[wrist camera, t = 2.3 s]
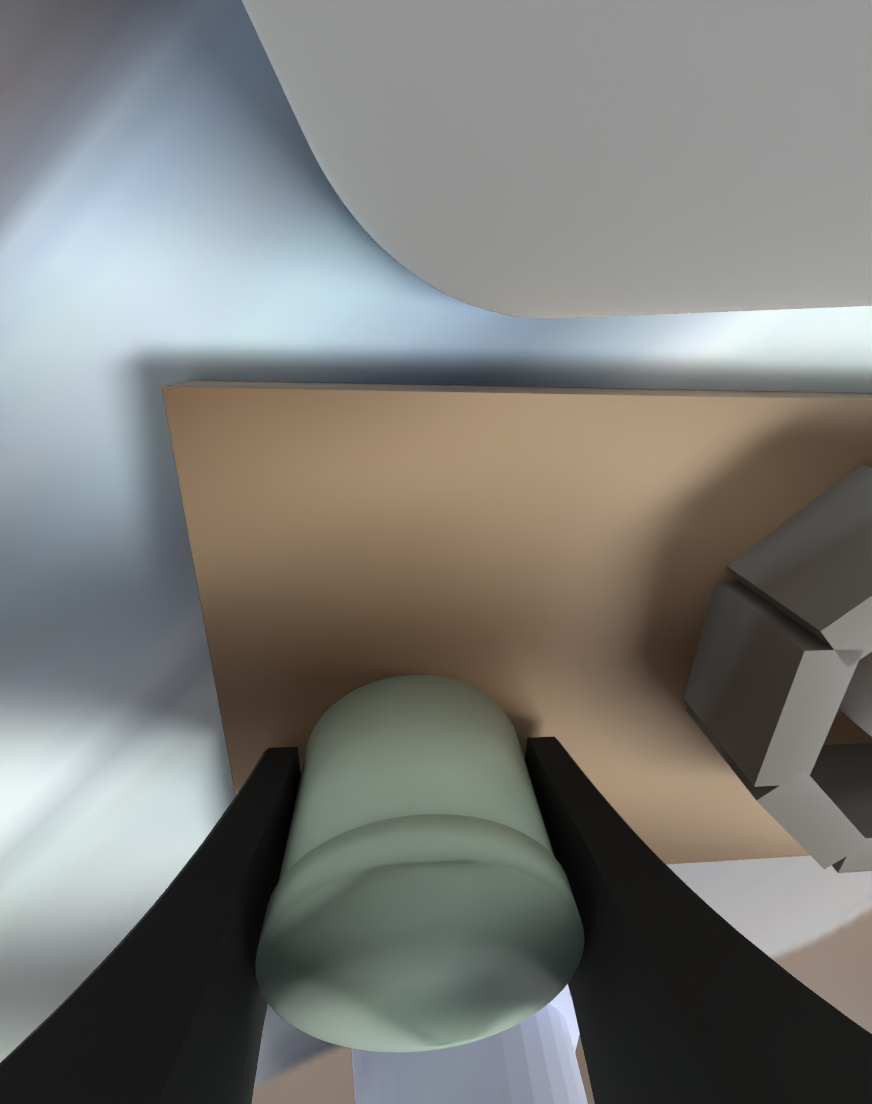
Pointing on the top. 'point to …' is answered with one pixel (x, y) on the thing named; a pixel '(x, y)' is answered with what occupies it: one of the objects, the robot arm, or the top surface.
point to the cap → (416, 877)
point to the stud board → (558, 584)
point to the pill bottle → (595, 146)
